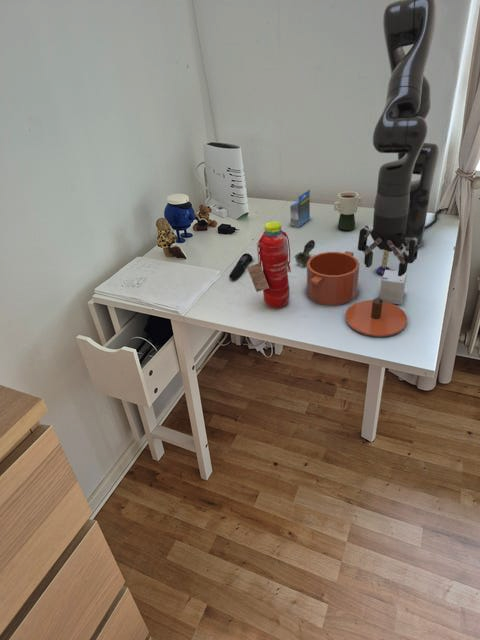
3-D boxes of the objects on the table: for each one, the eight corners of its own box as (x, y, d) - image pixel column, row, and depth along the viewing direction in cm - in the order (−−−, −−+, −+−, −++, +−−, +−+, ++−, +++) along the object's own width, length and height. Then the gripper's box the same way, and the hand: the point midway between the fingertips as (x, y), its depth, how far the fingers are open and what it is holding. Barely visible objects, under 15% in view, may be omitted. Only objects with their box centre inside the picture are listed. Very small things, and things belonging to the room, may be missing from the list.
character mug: (354, 221, 169) (356, 188, 161) (364, 228, 163) (367, 194, 156) (328, 227, 167) (329, 194, 159) (337, 235, 161) (339, 200, 153)
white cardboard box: (404, 294, 126) (407, 271, 122) (401, 305, 122) (404, 282, 118) (382, 290, 129) (385, 269, 124) (378, 301, 124) (381, 279, 120)
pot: (292, 300, 129) (291, 272, 124) (328, 270, 141) (328, 244, 135) (336, 315, 121) (337, 286, 115) (370, 283, 133) (372, 255, 127)
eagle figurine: (321, 263, 143) (320, 246, 149) (310, 249, 139) (308, 232, 145) (302, 273, 147) (301, 256, 153) (290, 260, 143) (289, 243, 149)
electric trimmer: (226, 281, 141) (225, 273, 140) (243, 258, 153) (242, 250, 151) (237, 283, 140) (236, 274, 138) (253, 259, 151) (252, 251, 150)
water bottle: (257, 316, 124) (250, 235, 109) (248, 302, 130) (241, 223, 116) (296, 306, 126) (295, 225, 112) (286, 292, 133) (283, 214, 118)
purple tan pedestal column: (392, 269, 138) (399, 219, 128) (391, 277, 134) (398, 226, 125) (376, 268, 139) (382, 219, 130) (375, 275, 136) (380, 225, 126)
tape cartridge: (301, 217, 177) (301, 187, 169) (310, 219, 175) (310, 189, 167) (290, 226, 171) (289, 195, 164) (299, 228, 169) (298, 197, 162)
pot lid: (334, 325, 118) (335, 305, 114) (362, 297, 127) (364, 279, 123) (390, 346, 109) (393, 326, 105) (416, 315, 118) (419, 295, 114)
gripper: (428, 209, 99) (418, 271, 109) (370, 198, 107) (365, 257, 117) (415, 222, 95) (405, 285, 105) (355, 210, 103) (351, 269, 113)
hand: (384, 270), depth 111 cm, fingers open, 8 cm apart
